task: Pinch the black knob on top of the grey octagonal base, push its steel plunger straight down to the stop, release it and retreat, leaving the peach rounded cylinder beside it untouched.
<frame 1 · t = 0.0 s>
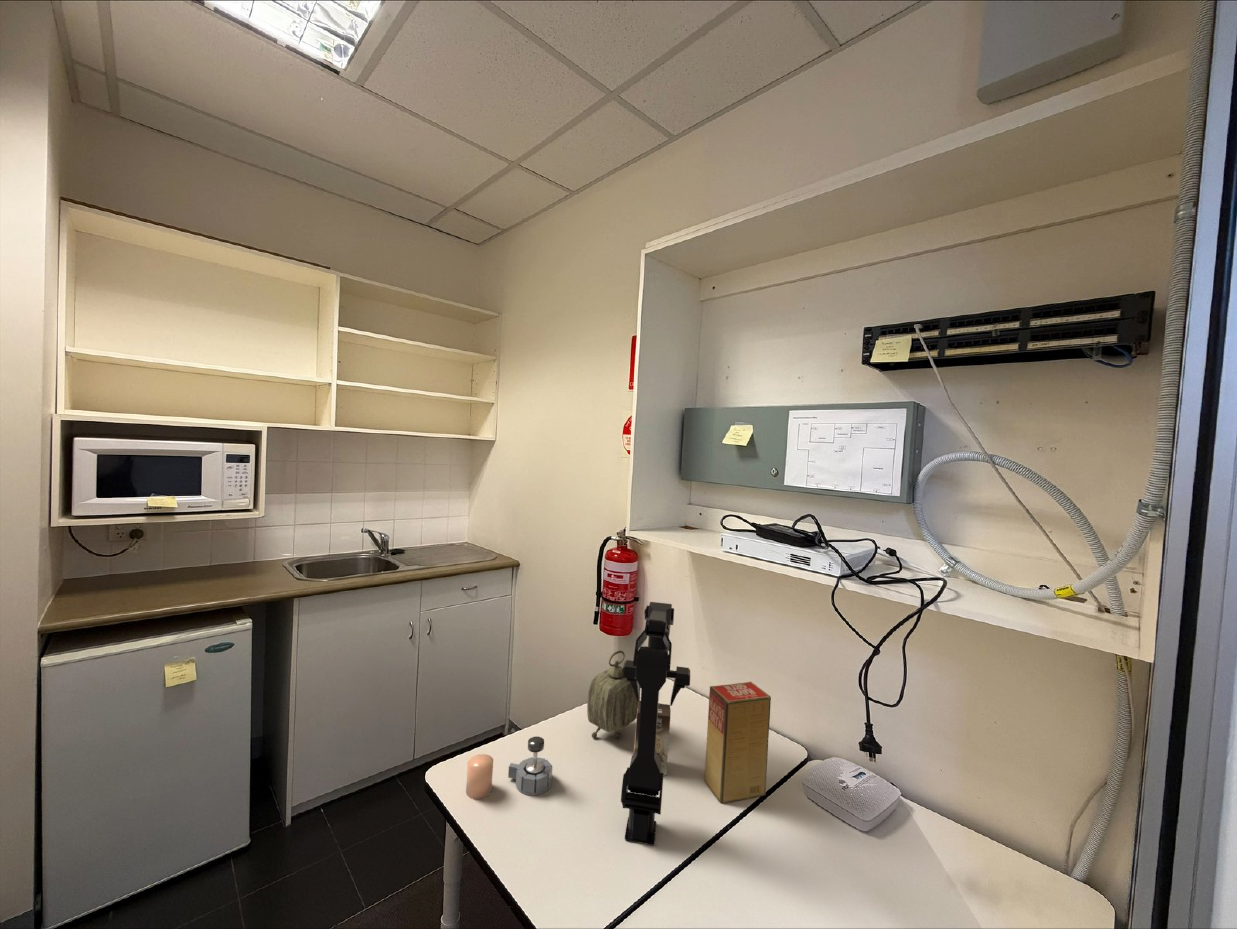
hand: (654, 702, 134), 15 cm above the table, fingers open, 9 cm apart
coffee box: (649, 767, 129), on the table
plunger: (535, 754, 120), point 7 cm above the table, slide at 0.0 cm
food packaging: (734, 788, 123), on the table
peach rounded cylinder: (478, 790, 116), on the table
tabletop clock: (613, 735, 143), on the table
grey octagonal base: (533, 783, 120), on the table
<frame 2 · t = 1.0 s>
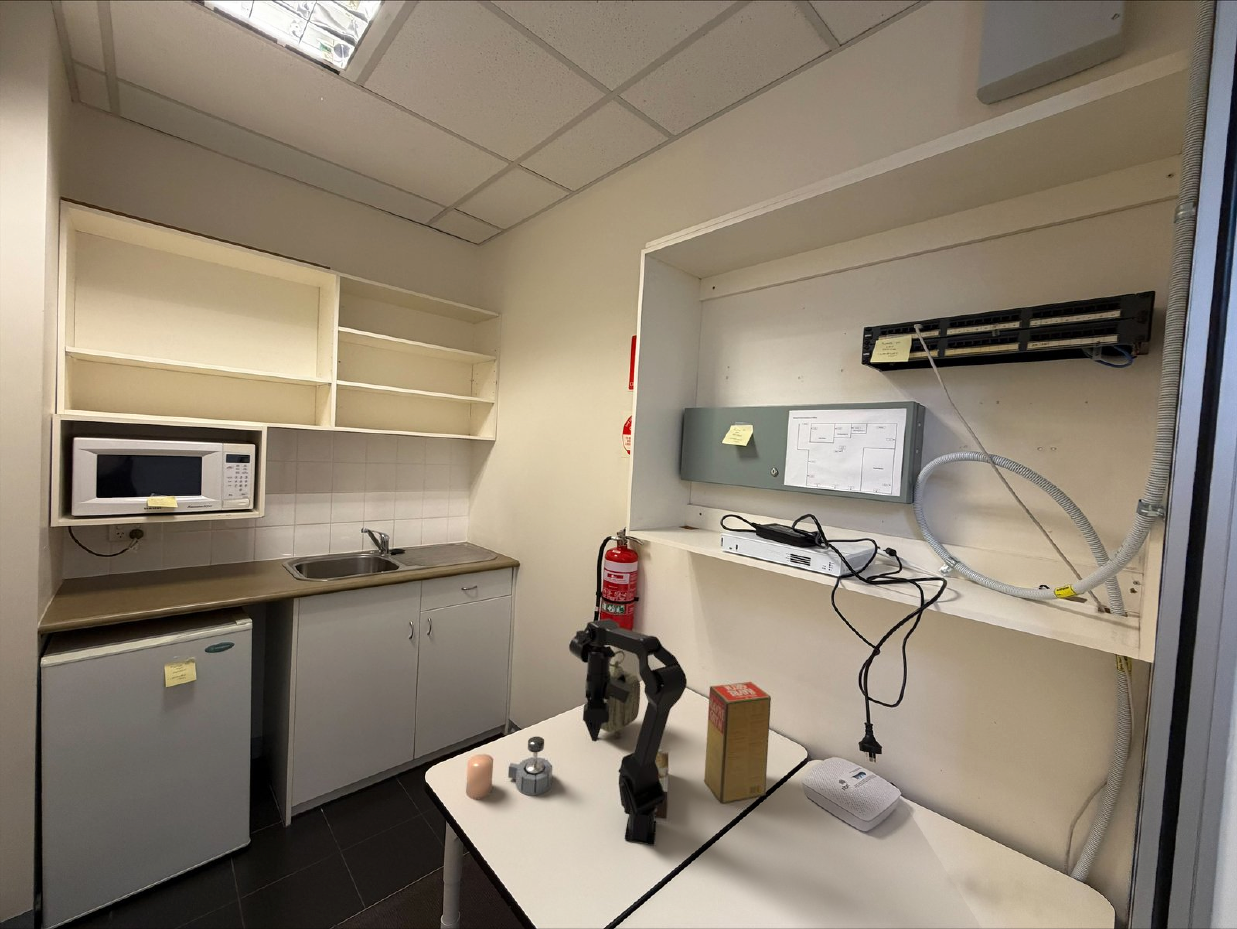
hand: (594, 730, 122), 13 cm above the table, fingers open, 9 cm apart
coffee box: (651, 759, 127), point 3 cm above the table
everything else where it was.
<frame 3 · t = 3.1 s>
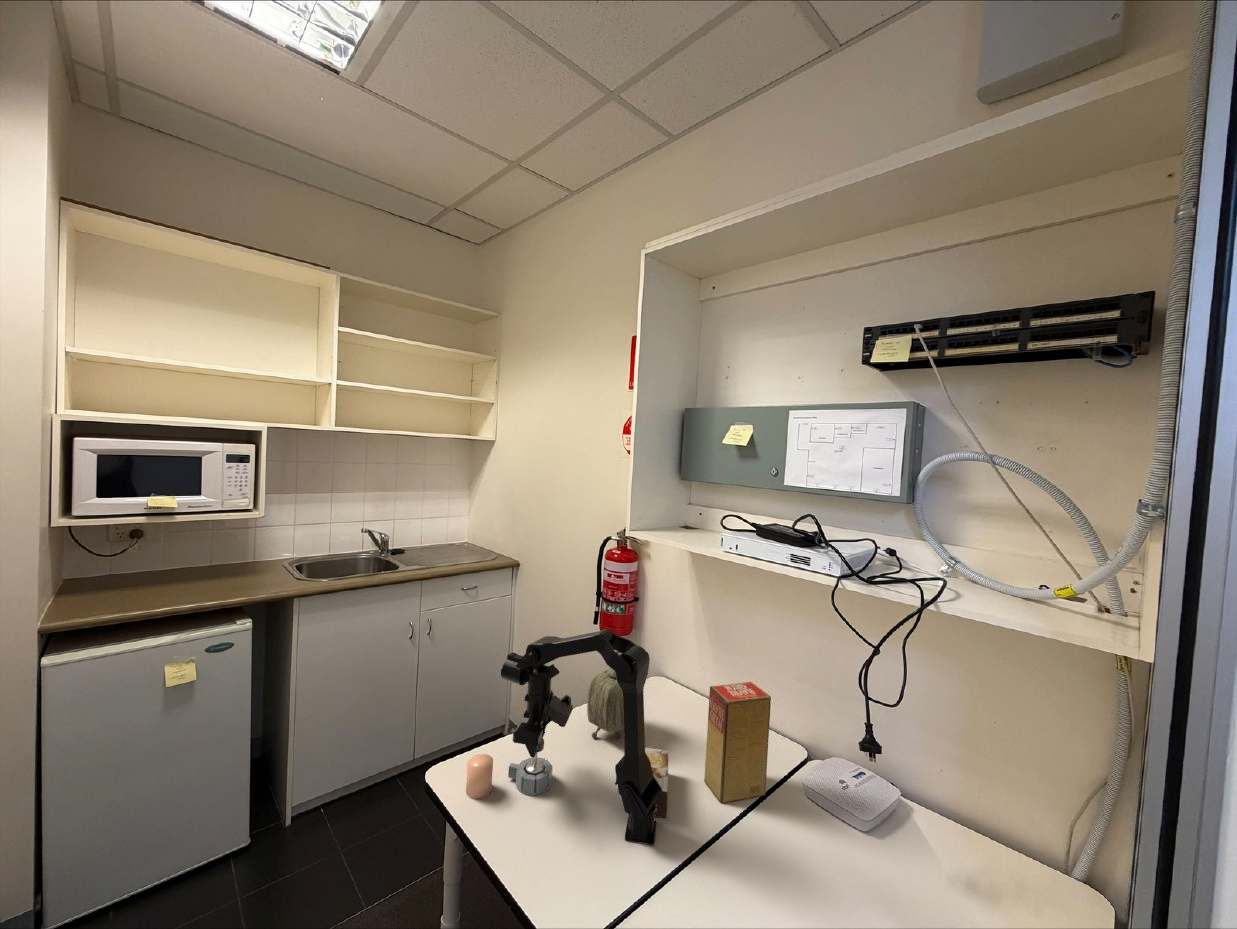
hand: (535, 751, 120), 8 cm above the table, fingers closed on plunger, 4 cm apart
plunger: (535, 754, 120), point 7 cm above the table, slide at 0.0 cm, touching gripper
everything else where it was.
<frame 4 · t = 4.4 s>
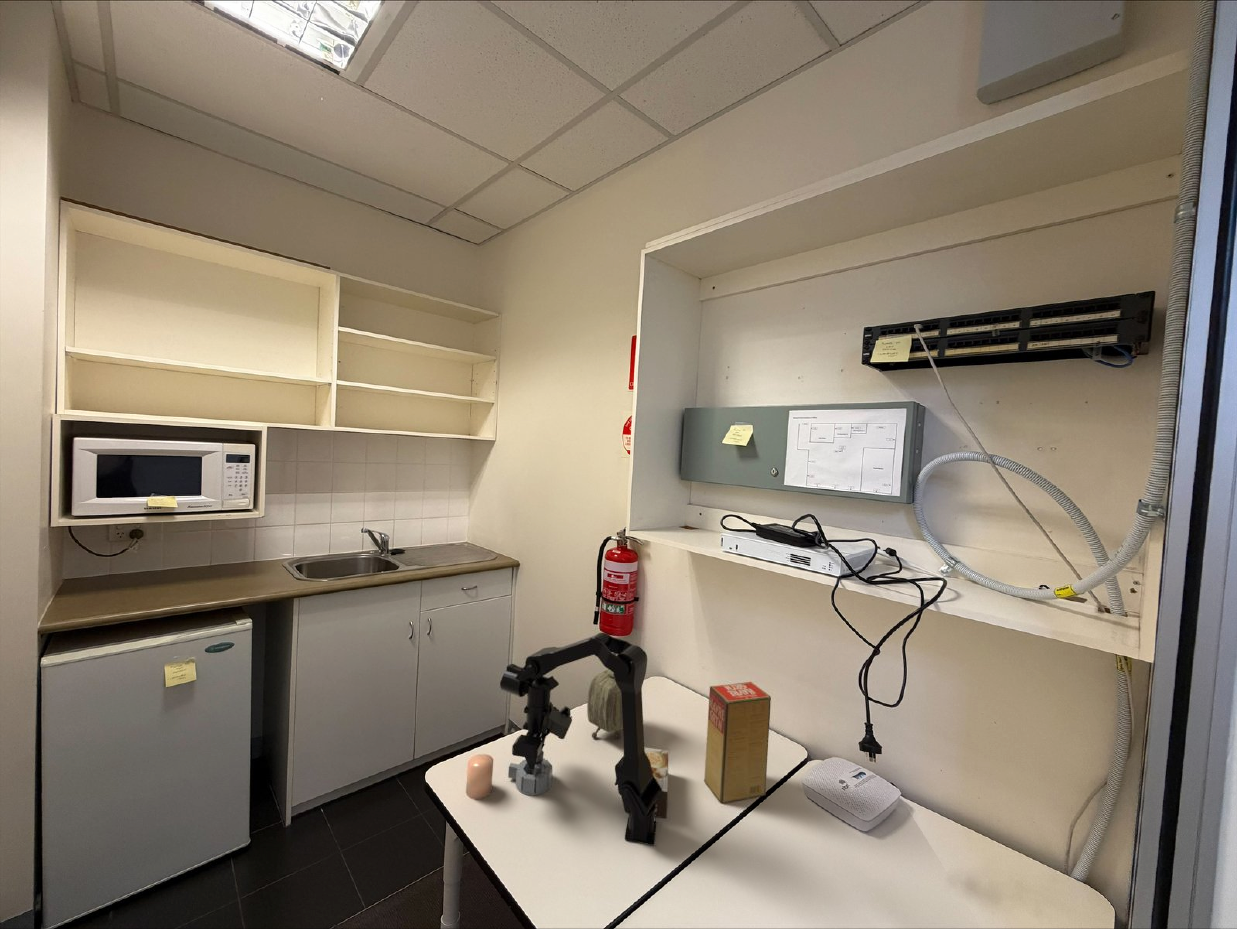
hand: (535, 763, 120), 5 cm above the table, fingers closed on plunger, 4 cm apart
plunger: (534, 766, 120), point 4 cm above the table, slide at 3.0 cm, touching gripper
everything else where it was.
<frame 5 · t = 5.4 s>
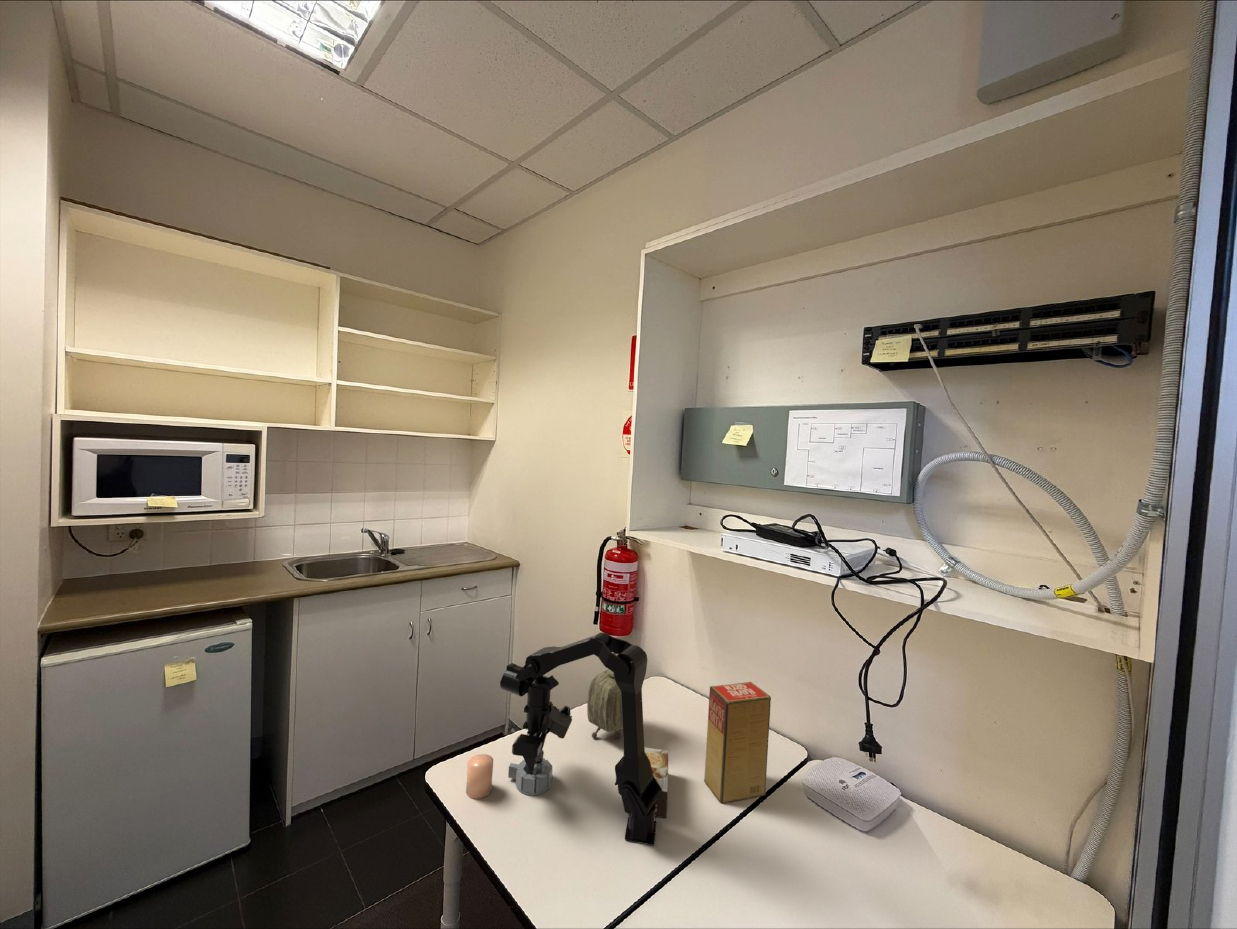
hand: (534, 762, 120), 5 cm above the table, fingers open, 5 cm apart
plunger: (534, 766, 120), point 4 cm above the table, slide at 2.9 cm
everything else where it was.
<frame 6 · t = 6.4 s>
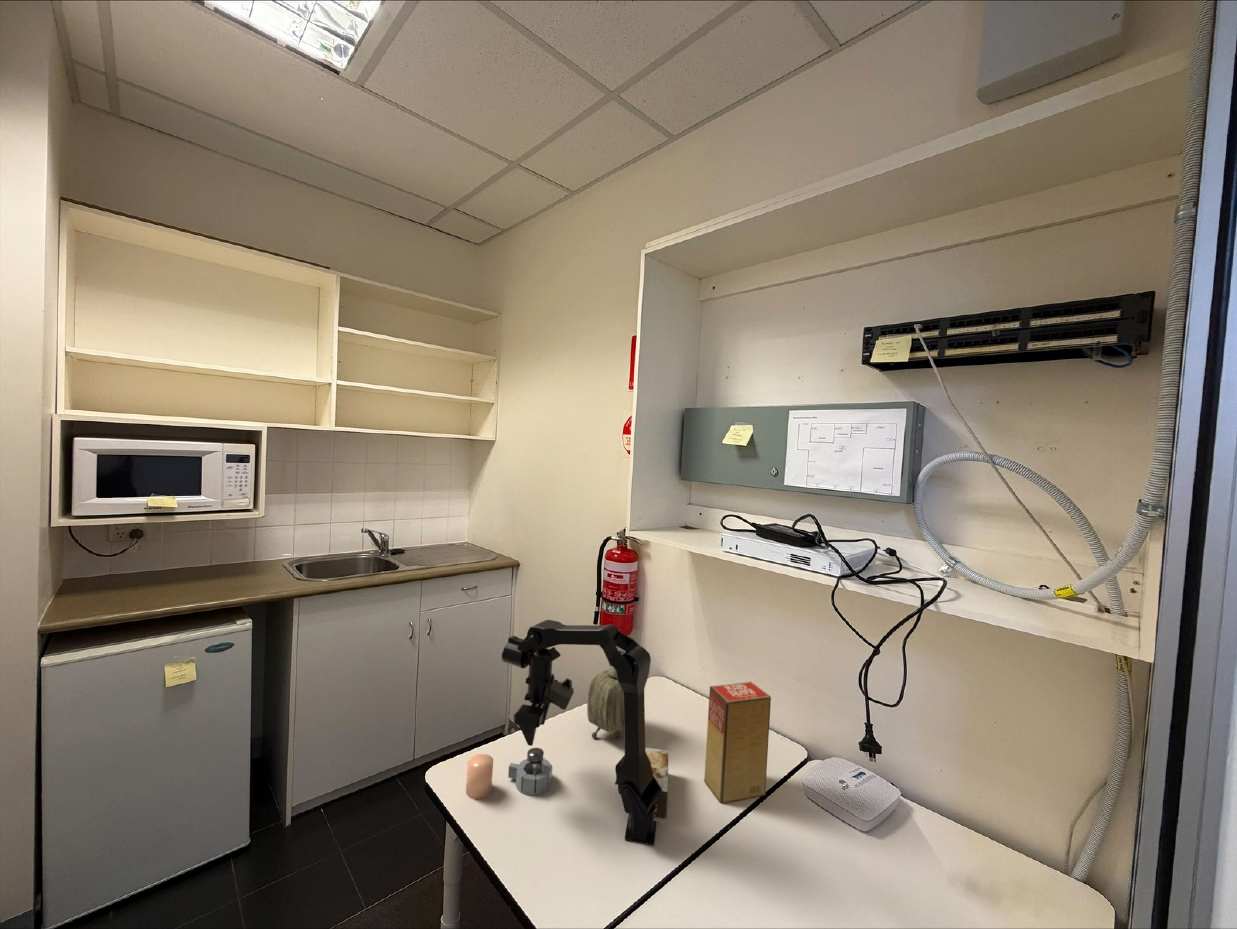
hand: (536, 734, 120), 12 cm above the table, fingers open, 9 cm apart
nothing on the table moved.
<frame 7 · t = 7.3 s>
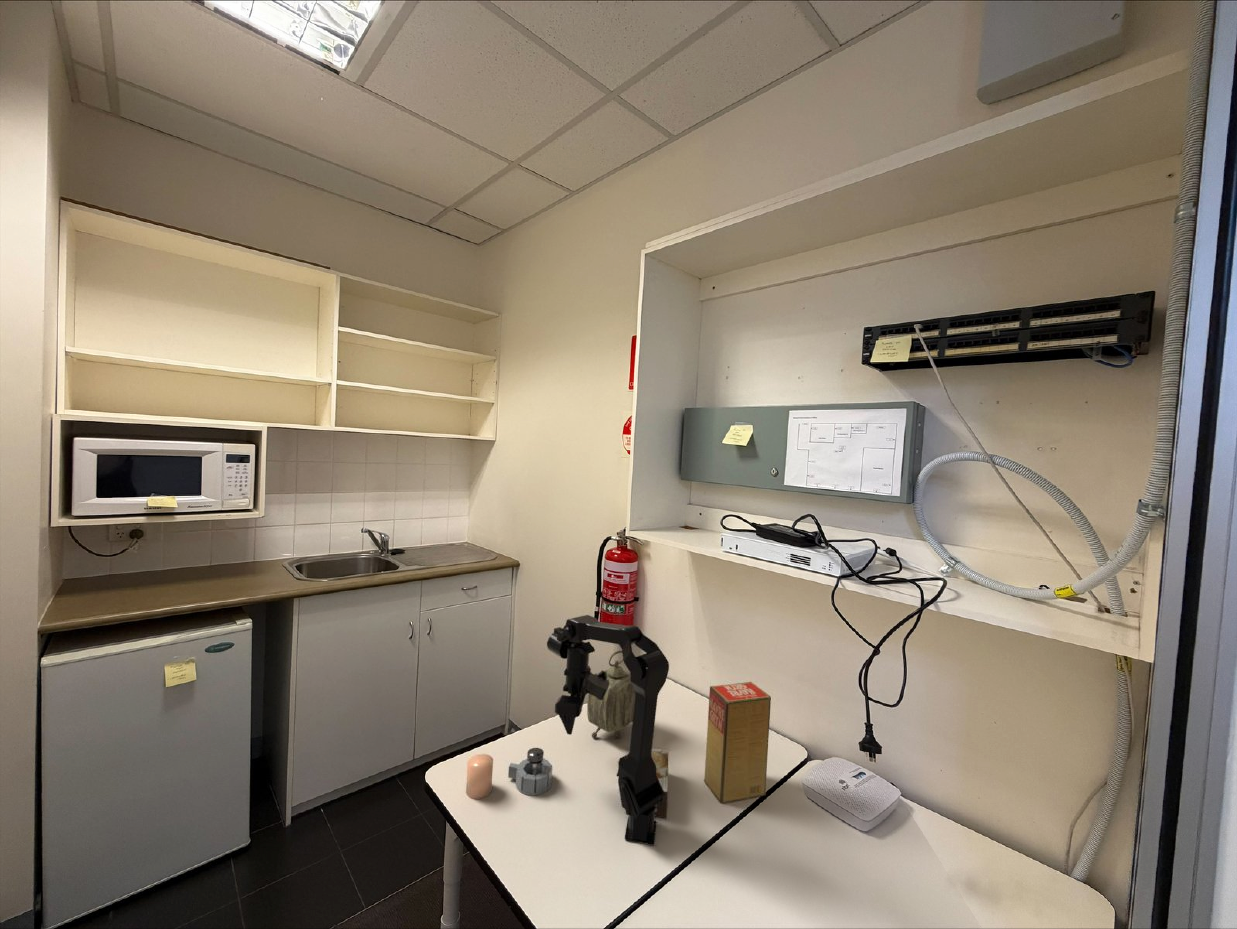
hand: (573, 724, 125), 12 cm above the table, fingers open, 9 cm apart
nothing on the table moved.
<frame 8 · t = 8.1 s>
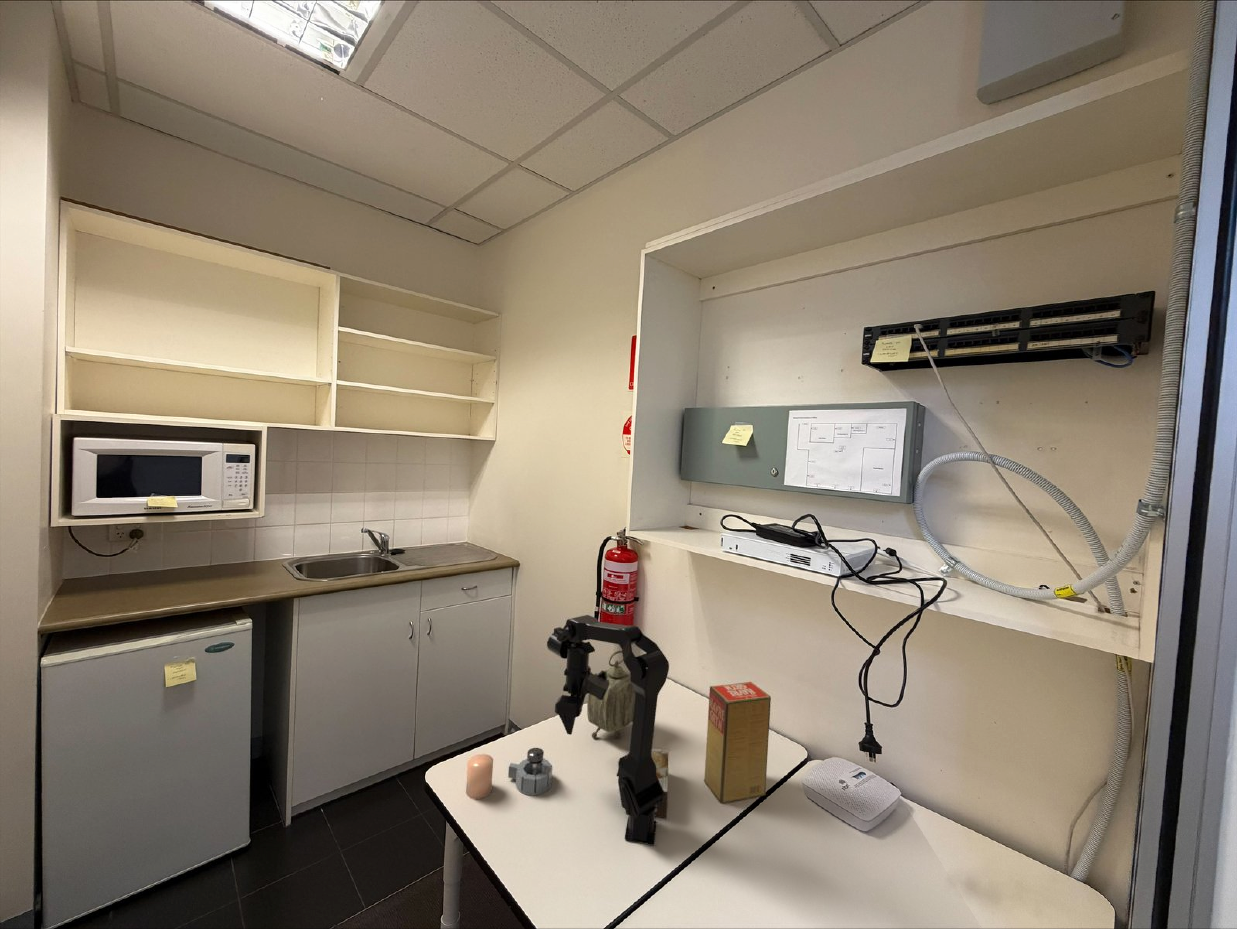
hand: (573, 724, 125), 13 cm above the table, fingers open, 9 cm apart
nothing on the table moved.
at the end: plunger slide at 2.9 cm; the gripper is holding nothing; peach rounded cylinder moved 0.0 cm from its start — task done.
